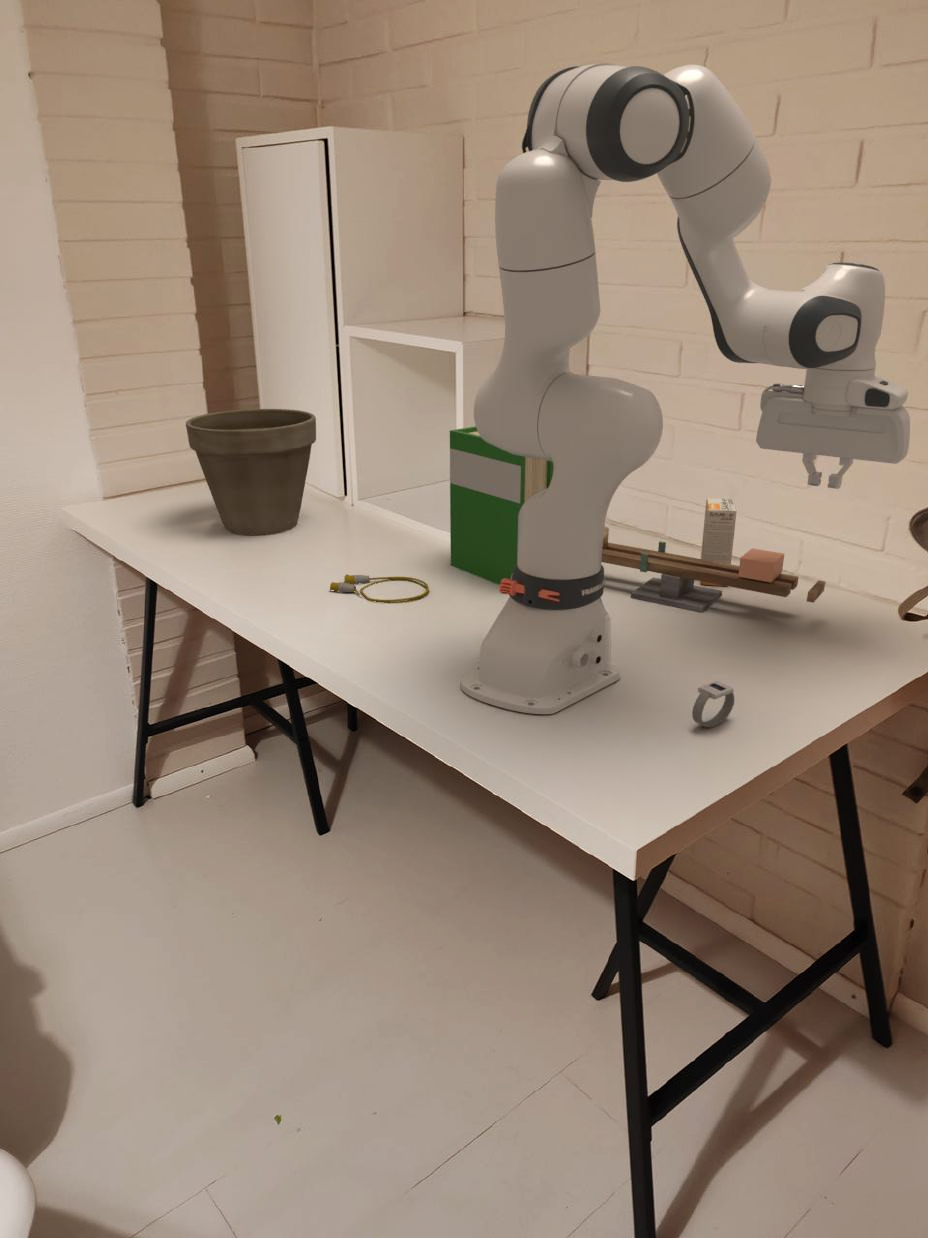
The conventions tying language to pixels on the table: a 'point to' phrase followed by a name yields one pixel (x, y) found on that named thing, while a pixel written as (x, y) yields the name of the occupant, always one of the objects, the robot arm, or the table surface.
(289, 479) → the plant pot
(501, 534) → the hardback book
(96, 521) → the table surface
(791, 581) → the balance scale
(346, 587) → the extension cord
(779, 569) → the block
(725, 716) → the wristwatch
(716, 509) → the supplement box
